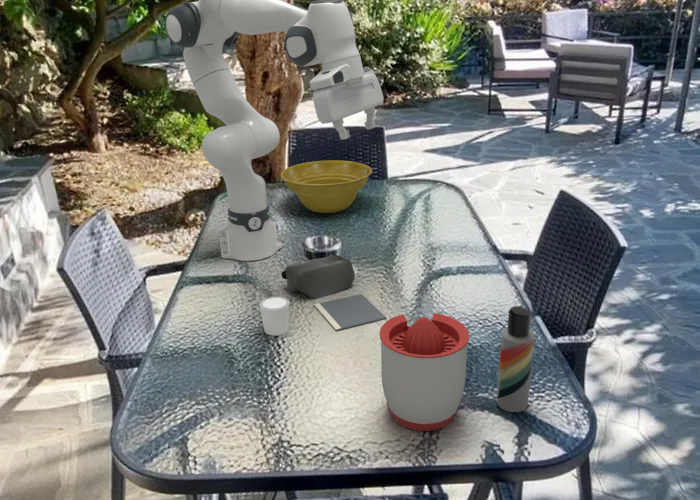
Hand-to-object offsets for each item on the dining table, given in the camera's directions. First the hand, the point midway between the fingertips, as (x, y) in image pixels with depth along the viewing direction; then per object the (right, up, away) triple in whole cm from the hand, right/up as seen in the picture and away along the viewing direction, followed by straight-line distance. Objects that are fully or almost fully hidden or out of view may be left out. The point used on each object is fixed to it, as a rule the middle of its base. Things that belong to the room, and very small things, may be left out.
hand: (358, 133), depth 147 cm
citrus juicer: (+11, -57, -28) cm, 64 cm away
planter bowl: (-10, -12, +82) cm, 83 cm away
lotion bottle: (+28, -56, -27) cm, 68 cm away
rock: (-10, -37, +22) cm, 44 cm away
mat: (-2, -42, +8) cm, 43 cm away
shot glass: (-19, -46, +1) cm, 49 cm away
